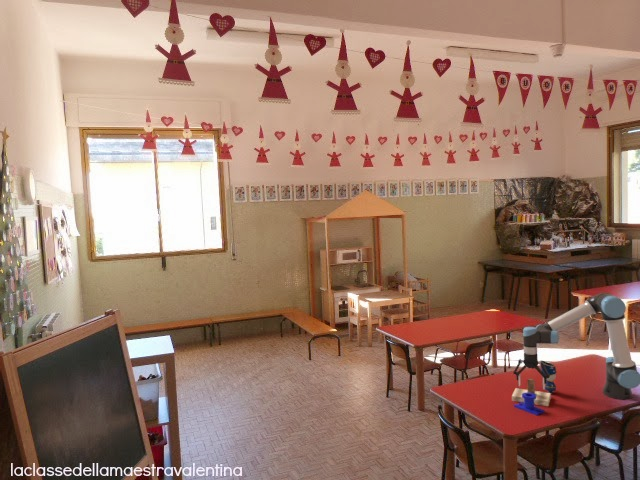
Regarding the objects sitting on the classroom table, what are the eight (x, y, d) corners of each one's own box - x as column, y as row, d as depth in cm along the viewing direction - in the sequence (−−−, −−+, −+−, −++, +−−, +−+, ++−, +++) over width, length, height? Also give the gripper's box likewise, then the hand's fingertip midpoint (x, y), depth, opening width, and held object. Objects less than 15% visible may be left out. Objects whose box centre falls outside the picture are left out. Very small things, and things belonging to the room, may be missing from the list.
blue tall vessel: (559, 396, 291) (559, 364, 290) (543, 396, 293) (542, 364, 292) (553, 389, 304) (553, 358, 303) (537, 388, 306) (537, 358, 305)
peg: (535, 398, 290) (535, 379, 289) (534, 401, 287) (534, 381, 286) (528, 397, 292) (527, 378, 292) (527, 400, 289) (526, 380, 288)
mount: (514, 407, 280) (513, 392, 280) (522, 404, 284) (521, 389, 283) (537, 415, 267) (536, 400, 267) (545, 412, 271) (544, 397, 270)
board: (550, 398, 290) (550, 393, 290) (548, 406, 278) (548, 401, 278) (515, 392, 301) (515, 388, 300) (511, 400, 289) (511, 395, 289)
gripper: (553, 353, 285) (555, 387, 286) (509, 349, 298) (511, 382, 299) (552, 356, 278) (553, 392, 279) (507, 352, 291) (508, 386, 292)
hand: (531, 387), depth 289 cm, fingers open, 13 cm apart
